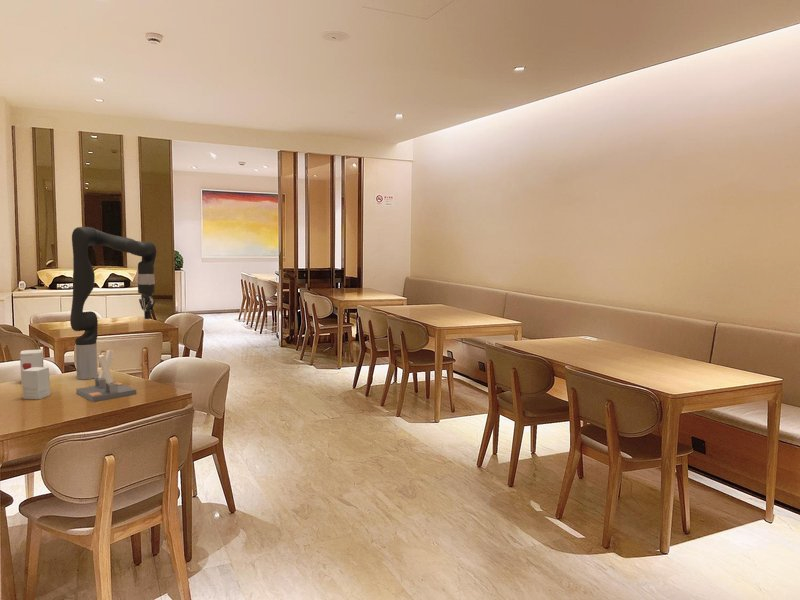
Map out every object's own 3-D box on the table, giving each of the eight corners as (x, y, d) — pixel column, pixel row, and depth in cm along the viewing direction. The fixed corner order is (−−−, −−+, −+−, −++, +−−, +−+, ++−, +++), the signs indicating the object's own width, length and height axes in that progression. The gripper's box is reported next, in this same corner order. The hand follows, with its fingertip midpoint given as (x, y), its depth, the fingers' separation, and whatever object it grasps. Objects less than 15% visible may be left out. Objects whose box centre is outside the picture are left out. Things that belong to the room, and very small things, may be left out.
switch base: (76, 393, 246) (75, 380, 246) (118, 386, 259) (118, 373, 259) (92, 401, 233) (92, 388, 232) (136, 394, 246) (135, 380, 245)
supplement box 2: (51, 395, 242) (49, 367, 241) (38, 399, 235) (36, 370, 234) (35, 394, 243) (34, 366, 242) (22, 399, 236) (20, 370, 235)
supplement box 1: (20, 384, 261) (19, 353, 260) (22, 380, 269) (20, 350, 267) (43, 382, 265) (41, 351, 264) (44, 378, 273) (43, 348, 272)
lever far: (96, 382, 249) (107, 349, 252) (101, 382, 251) (112, 350, 254) (98, 383, 247) (109, 350, 250) (103, 384, 249) (114, 351, 252)
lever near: (107, 388, 242) (97, 356, 238) (113, 385, 244) (102, 354, 240) (110, 389, 240) (99, 357, 236) (115, 386, 242) (105, 355, 238)
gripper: (132, 282, 266) (133, 318, 268) (144, 284, 257) (145, 320, 259) (148, 282, 272) (149, 317, 273) (160, 283, 263) (161, 319, 265)
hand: (147, 318), depth 266 cm, fingers closed
